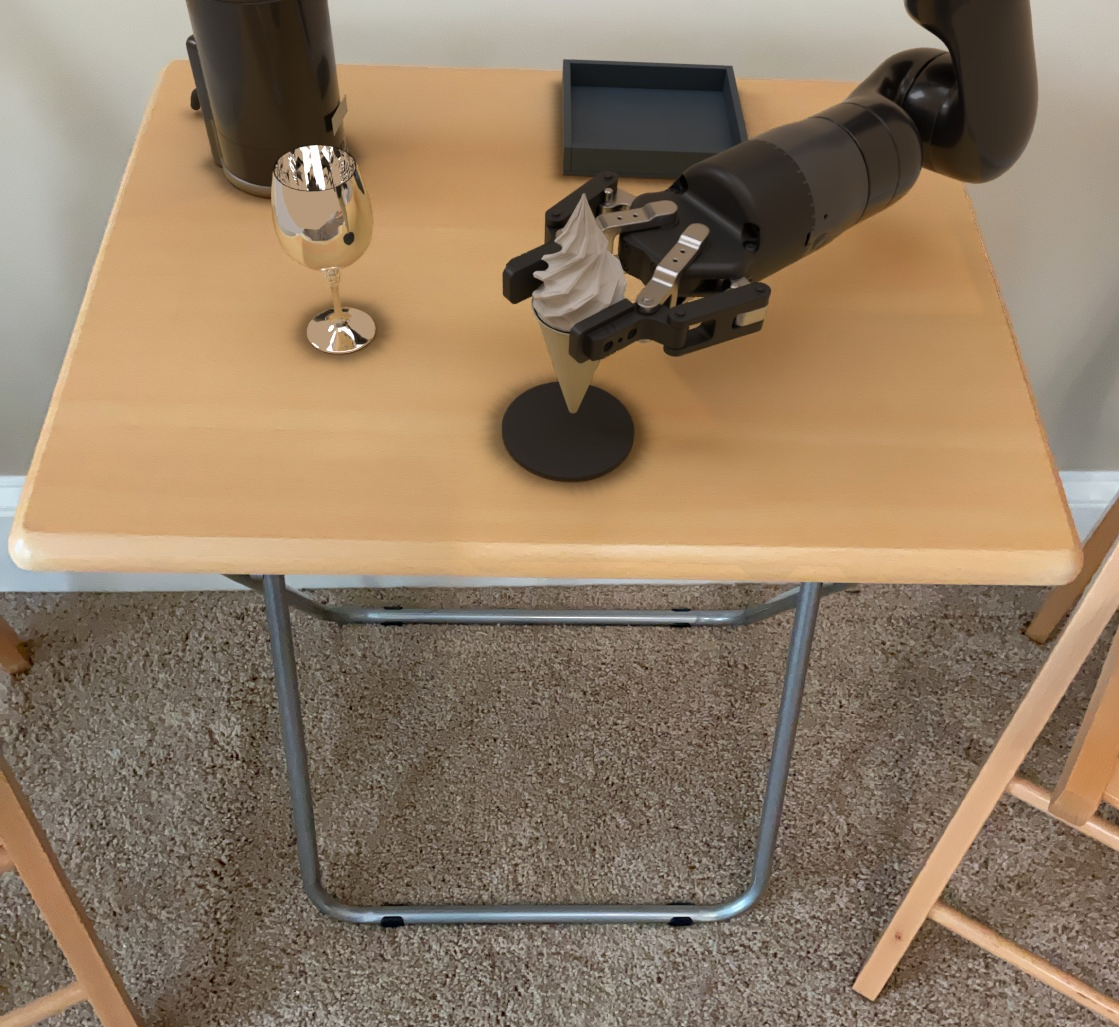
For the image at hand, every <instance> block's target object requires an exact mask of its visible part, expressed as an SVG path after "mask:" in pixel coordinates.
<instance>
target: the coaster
mask: <svg viewBox="0 0 1119 1027" xmlns="http://www.w3.org/2000/svg"><path fill="white" fill-rule="evenodd" d="M501 437H502V441H503V444H504V447H505V450H506V451H507V452H508V454H509V455H510V457H511V458H512V460H514V461H515V462H516V463H517V464H518V465H519V466H520V467H522V468H523V469H525V470H526V471H528V472H530V473H532V474H534V475H536V476H539V477H541V478H543V479H548V480H553V481H557V482H558V481H559V482H567V483H569V482H583V481H584V482H585V481H589V480H595V479H597V478H599V477H602V476H605V475H606V474H609V473H611V472H612V471H613V470H615V469H617V468H618V467H619V466H620V465H621V464H622V463H624V461H625V460H626V458H627V457H628V456H629V454H630V452H631V450H632V447H633V444H634V440H635V424H634V421H633V418H632V416H631V414H630V412H629V410H628V409H627V408H626V406H625V405H624V403H622V402H621V400H619V399H618V398H617V397H616V396H614V395H613V394H611V393H610V392H608V391H607V390H604V389H603V388H601V387H598V386H596V385H593V384H589V386H588V389H587V391H586V393H585V395H584V397H583V399H582V402H581V404H580V406H579V408H578V410H577V412H576V413H570V412H569V409H568V407H567V404H566V401H565V398H564V395H563V392H562V389H561V386H560V384H559V381H558V380H557V381H551V382H545V383H541V384H539V385H536V386H533V387H531V388H529V389H527V390H525V391H524V392H522V393H521V394H519V395H518V396H517V397H515V399H514V400H513V401H511V403H510V404H509V405H508V406H507V409H506V411H505V412H504V415H503V418H502V422H501Z"/></svg>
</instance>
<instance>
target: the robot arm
mask: <svg viewBox="0 0 1119 1027" xmlns="http://www.w3.org/2000/svg"><path fill="white" fill-rule="evenodd" d="M185 4H186V5H185V6H186V8H187V13H188V18H189V21H190V26H191V30H192V34H190V35H189V36H188V37H187V39H186V41H185V48H186V53H187V57H188V60H189V65H190V68H191V73H192V77H193V82H194V85H195V86H194V87H195V88H193V90H192V91H191V93H190V104H189V106H190V108H191V110H193V111H199V110H200V109H201V114H202V118H203V123H204V126H205V129H206V130H205V131H206V136H207V139H208V142H209V148H210V151H211V155H212V159H213V163H214V164H216V165H219V166H221V167H222V169H223V172H224V175H225V177H226V178H227V180H228V181H229V182H230V183H231V184H232V185H234V187H237V188H238V189H240V190H242V191H244V192H246V193H248V194H249V193H250V194H252V195H257V196H261V197H267V198H271V186H272V175H273V168H274V164H275V162H276V161H277V160H278V158H279V157H281V156H282V155H283V154H285V153H286V152H288V151H290V150H292V149H295V148H298V147H302V146H308V145H328V146H334V147H337V148H340V149H342V150H345V151H347V152H348V153H349V146H348V143H347V140H346V134H345V133H346V132H345V125H344V119H345V118H346V115H347V114H348V111H349V110H348V101H347V96H346V95H347V94H344V96H343V98H342V99H341V93H340V85H339V77H338V70H337V62H336V54H335V47H334V39H333V38H334V37H333V31H332V23H331V15H330V8H329V0H185ZM903 7H904V9H905V12H906V13H907V15H908V17H909V18H910V19H911V20H912V21H914V23H916V24H917V25H918V26H920V27H922V28H923V29H924V30H926V31H927V32H929V33H931V34H932V35H933V36H935V37H936V38H937V39H939V40H940V41H941V42H942V43H943V44H944V46H945V47H946V49H947V50H944V49H941V48H936V47H926V46H924V47H914V48H909V49H905V50H901V51H898V52H896V53H894V54H892V55H891V56H889V57H887V58H886V59H884V60H883V61H882V62H881V63H880V64H879V65H878V66H877V67H876V68H875V69H874V70H873V71H872V72H871V73H870V74H869V75H867V76H866V78H865V79H863V81H861V83H859V84H858V85H857V86H856V87H855V88H854V89H853V90H852V91H851V92H850V93H849V94H848V96H846V97H845V98H844V99H843V100H842V102H839V103H837V104H835V105H832V106H830V107H828V108H826V109H824V110H821V111H819V112H817V113H815V114H813V115H811V116H808V117H806V118H804V119H801V120H798V121H794V122H791V123H786V124H782V125H780V126H777V127H773V128H771V129H769V130H766V131H764V132H762V133H760V134H758V135H755V136H753V137H751V138H748V140H747V141H745V142H742V143H740V144H738V145H735V146H733V147H731V148H729V149H727V150H725V151H722V152H720V153H718V154H716V155H713V156H711V157H709V158H707V159H705V160H702V161H700V162H698V163H696V164H694V165H692V166H690V167H689V168H687V169H686V170H685V171H684V172H683V173H682V174H681V175H680V176H679V178H678V179H675V181H674V182H673V183H672V184H671V185H670V186H669V187H667V188H666V189H664V190H661V191H654V192H652V191H651V192H644V193H641V194H639V195H638V196H635V195H633V194H632V193H629V192H628V191H625V190H624V189H621V188H619V177H618V175H617V174H616V173H614V172H612V171H603V172H600V173H599V174H597V175H596V176H592V177H591V179H589V180H588V181H586V182H585V183H584V184H582V185H580V186H579V187H578V188H576V189H575V190H573V191H572V192H571V193H569V194H568V195H567V196H565V197H563V198H562V199H560V200H559V201H558V202H557V203H555V204H554V205H552V206H550V207H549V208H547V209H546V211H545V212H544V239H543V240H544V241H543V243H542V244H540V245H539V246H537V247H534V248H532V249H530V250H528V251H526V252H524V253H520V255H517V256H514V257H512V258H511V259H509V261H508V262H506V264H505V267H504V269H503V270H502V278H501V279H502V295H503V297H504V298H505V299H506V300H507V301H508V302H510V304H512V305H518V304H520V303H521V302H524V301H526V300H527V299H530V298H532V293H533V292H534V291H535V290H537V288H539V287H540V286H541V285H542V284H543V283H544V282H543V281H541V280H539V279H537V278H535V277H534V275H533V273H534V272H536V271H545V270H546V269H548V268H549V264H548V263H547V262H546V261H544V260H542V257H543V256H544V255H549V254H554V253H557V252H560V251H561V250H562V246H561V245H559V244H557V243H556V242H555V241H554V240H555V239H556V238H557V237H559V236H560V235H561V234H562V233H563V232H562V229H563V228H564V227H565V225H566V224H567V222H568V221H569V219H570V217H571V215H572V214H573V212H574V210H575V208H576V206H577V205H578V203H579V201H580V199H581V197H582V194H583V193H585V195H586V198H587V201H588V204H589V206H590V209H591V211H592V213H593V215H594V218H595V220H596V222H597V225H598V227H599V228H600V230H601V231H602V233H603V234H604V236H605V237H606V239H607V240H608V242H609V243H608V247H607V250H608V251H609V252H610V253H611V254H613V253H614V243H615V242H614V241H615V239H616V237H617V236H618V242H617V245H618V246H617V254H613V255H614V256H615V257H616V258H617V259H619V260H620V263H621V266H622V269H623V272H624V275H628V276H631V277H632V278H635V279H637V280H639V281H640V282H641V283H642V285H643V286H644V287H643V288H642V289H641V290H640V291H639V293H638V294H637V295H636V297H635V301H634V302H632V301H631V300H630V299H629V298H627V297H625V299H623V300H621V301H619V302H617V303H615V304H613V305H611V306H609V307H607V308H605V309H603V310H601V311H599V312H597V313H595V314H593V315H592V316H590V317H588V318H586V319H584V320H582V321H580V322H578V323H576V324H575V325H574V326H573V327H572V328H571V330H570V334H569V355H570V356H571V357H572V358H573V359H574V360H576V361H577V362H578V363H580V364H581V363H584V362H586V361H588V360H591V361H597V360H601V361H602V360H605V359H606V358H608V357H610V356H611V355H613V354H615V353H617V352H619V351H621V350H623V349H625V348H627V347H628V346H631V345H632V344H634V343H637V342H638V343H641V344H646V343H650V342H652V341H653V342H654V343H655V342H656V343H658V344H660V345H662V350H663V352H664V354H666V355H667V356H669V357H673V358H679V357H683V356H685V355H688V354H693V353H695V352H698V351H701V350H704V349H708V348H712V347H713V346H717V345H720V344H724V343H726V342H729V341H733V340H736V339H740V338H743V337H746V336H748V335H751V334H754V333H758V332H760V331H762V329H763V327H764V323H765V319H766V317H767V312H768V309H769V305H770V298H771V294H772V288H771V286H770V285H768V283H765V282H761V281H763V280H765V279H767V278H769V277H770V276H772V275H774V274H776V273H778V272H779V271H781V270H783V269H785V268H787V267H789V266H791V265H792V264H795V263H796V262H799V261H800V260H802V259H804V258H806V257H808V256H809V255H812V254H813V253H815V252H817V251H819V250H821V249H822V248H824V247H825V246H827V245H829V244H830V243H832V242H833V241H835V240H836V239H837V238H838V237H839V236H841V235H842V234H843V233H844V232H846V231H848V230H850V229H852V228H853V227H854V226H857V225H859V224H861V223H863V222H864V221H866V220H868V219H870V218H872V217H874V216H875V215H877V214H879V213H881V212H883V211H885V210H886V209H888V208H890V207H892V206H894V205H895V204H896V203H898V202H899V201H901V199H902V198H904V197H905V196H906V195H907V194H908V193H909V192H910V191H911V190H912V188H913V187H914V186H915V185H916V183H917V181H918V179H919V176H920V175H921V171H922V169H924V170H928V171H930V172H933V173H935V174H938V175H941V176H943V177H946V178H949V179H951V180H955V181H958V182H960V183H961V182H962V183H965V184H971V185H980V184H986V183H989V182H993V181H995V180H997V179H998V178H1000V177H1001V176H1003V175H1004V174H1005V173H1007V172H1008V171H1009V170H1010V169H1011V168H1012V167H1013V166H1014V165H1015V164H1016V163H1017V162H1018V160H1020V158H1021V157H1022V155H1023V153H1025V150H1026V148H1027V147H1028V145H1029V142H1030V140H1031V138H1032V135H1033V132H1034V129H1035V124H1036V120H1037V117H1038V108H1039V79H1038V78H1039V77H1038V68H1037V59H1036V58H1037V57H1036V51H1035V42H1034V40H1035V39H1034V29H1033V18H1032V6H1031V0H903ZM545 272H546V271H545ZM694 298H697V299H694ZM695 325H697V326H696V327H693V328H690V327H691V326H695Z"/></svg>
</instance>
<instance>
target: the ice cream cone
mask: <svg viewBox="0 0 1119 1027" xmlns="http://www.w3.org/2000/svg"><path fill="white" fill-rule="evenodd" d="M562 232H563V233H562V234H561V235H560V236H559V237H557V238H556V239H555V240H554V241H555V242H556V243H557V244H559V245H561V246H562V250H561V251H560V252H557V253H554V254H549V255H544V256H543V257H542V260H544V261H546V262H547V263H548V264H549V268H548V269H546V270H545V271H546V272H545V271H536V272H534V273H533V275H534V277H535V278H537V279H539V280H541V281H543V282H544V283H543V284H542V285H541V286H540V287H539V288H537V290H535V291H534V292H533V293H532V297H531V300H530V309H531V312H532V314H533V316H534V318H535V319H536V321H537V323H538V325H539V328H540V331H541V335H542V337H543V341H544V343H545V347H546V349H547V352H548V355H549V357H550V360H551V363H552V366H553V369H554V372H555V375H556V378H557V382H558V381H559V384H560V386H561V389H562V392H563V395H564V398H565V401H566V404H567V407H568V409H569V412H570V413H576V412H577V410H578V408H579V406H580V404H581V402H582V399H583V397H584V395H585V393H586V391H587V389H588V386H589V385H591V382H592V380H593V378H594V375H595V373H596V371H597V369H598V367H599V365H600V362H601V361H602V360H597V361H591V360H588V361H586V362H584V363H581V364H580V363H578V362H577V361H576V360H574V359H573V358H572V357H571V356H570V355H569V334H570V330H571V328H572V327H573V326H574V325H575V324H576V323H578V322H580V321H582V320H584V319H586V318H588V317H590V316H592V315H593V314H595V313H597V312H599V311H601V310H603V309H605V308H607V307H609V306H611V305H613V304H615V303H617V302H619V301H621V300H623V299H625V298H626V296H625V295H626V294H625V293H626V288H627V285H628V283H627V279H626V276H625V275H626V274H624V272H623V269H622V266H621V263H620V260H619V259H617V258H616V257H615V256H614V255H615V254H611V253H610V252H609V251H608V250H607V247H608V243H609V242H608V240H607V239H606V237H605V236H604V234H603V233H602V231H601V230H600V228H599V227H598V225H597V222H596V220H595V218H594V215H593V213H592V211H591V209H590V206H589V204H588V201H587V198H586V195H585V193H583V194H582V197H581V199H580V201H579V203H578V205H577V206H576V208H575V210H574V212H573V214H572V215H571V217H570V219H569V221H568V222H567V224H566V225H565V227H564V228H563V229H562Z"/></svg>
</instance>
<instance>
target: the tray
mask: <svg viewBox="0 0 1119 1027" xmlns="http://www.w3.org/2000/svg"><path fill="white" fill-rule="evenodd" d="M561 71H562V72H561V74H562V75H561V139H562V141H561V142H562V144H561V146H562V176H573V177H575V176H576V177H595V176H596V175H597V174H599V173H600V172H603V171H612V172H614V173H616V174H617V175H618V178H631V179H632V178H633V179H634V178H636V179H660V180H661V179H662V180H677V179H678V178H679V176H680V175H681V174H682V173H683V172H684V171H685V170H686V169H687V168H689V167H690V166H692V165H694V164H696V163H698V162H700V161H702V160H705V159H707V158H709V157H711V156H713V155H716V154H718V153H720V152H722V151H725V150H727V149H729V148H731V147H733V146H735V145H738V144H740V143H742V142H745V141H747V140H749V137H748V136H749V135H748V131H747V126H746V122H745V118H744V113H743V107H742V104H741V103H742V102H741V99H740V95H739V94H740V93H739V90H738V85H737V81H736V75H735V71H734V65H725V64H724V65H723V64H701V63H699V64H698V63H677V62H676V63H673V62H652V61H651V62H646V61H626V60H625V61H624V60H623V61H622V60H621V61H620V60H600V59H599V60H598V59H597V60H596V59H574V58H572V59H569V58H568V59H567V58H563V59H562V70H561Z"/></svg>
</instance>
